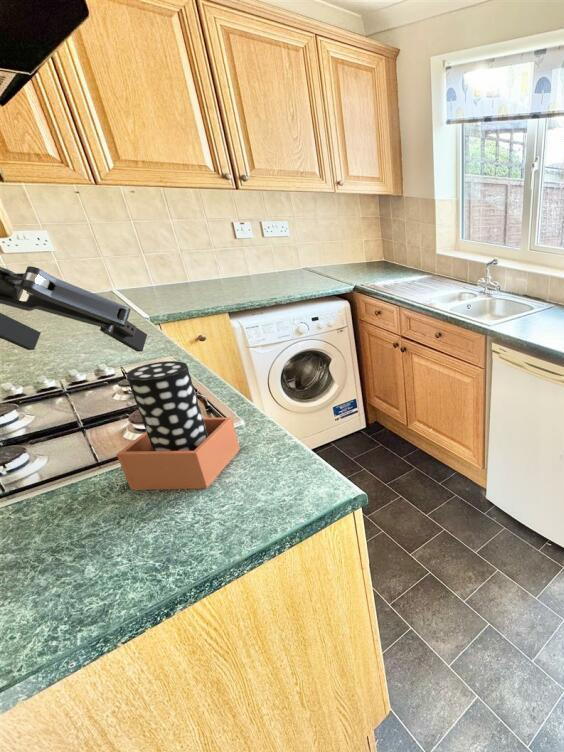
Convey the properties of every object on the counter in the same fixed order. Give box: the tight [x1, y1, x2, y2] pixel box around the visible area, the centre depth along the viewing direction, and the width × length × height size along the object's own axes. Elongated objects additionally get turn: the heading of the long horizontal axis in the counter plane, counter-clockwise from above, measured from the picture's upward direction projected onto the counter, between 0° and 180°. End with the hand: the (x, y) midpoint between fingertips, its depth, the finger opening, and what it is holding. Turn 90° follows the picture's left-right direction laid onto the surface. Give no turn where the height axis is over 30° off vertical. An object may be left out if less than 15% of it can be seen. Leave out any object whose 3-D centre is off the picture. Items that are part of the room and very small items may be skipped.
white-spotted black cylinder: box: [125, 360, 208, 451], centre depth 76 cm, size 8×8×20 cm
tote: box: [116, 417, 241, 491], centre depth 79 cm, size 13×13×8 cm
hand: (89, 342), depth 59 cm, fingers open, 13 cm apart
